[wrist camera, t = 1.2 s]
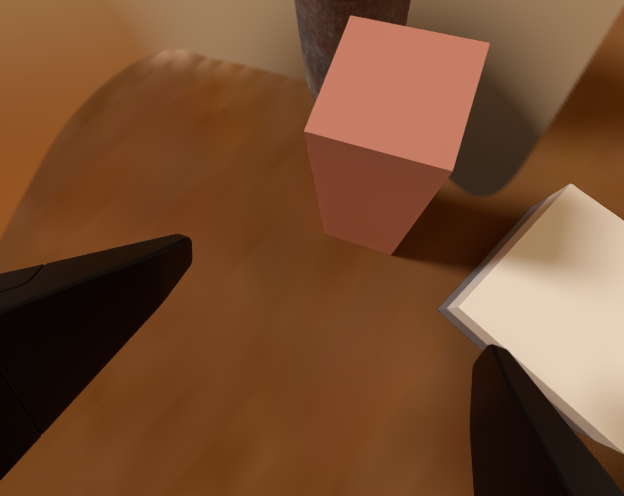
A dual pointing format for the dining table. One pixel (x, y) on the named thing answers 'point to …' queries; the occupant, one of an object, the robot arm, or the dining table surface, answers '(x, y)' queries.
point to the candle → (336, 29)
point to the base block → (557, 308)
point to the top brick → (388, 127)
